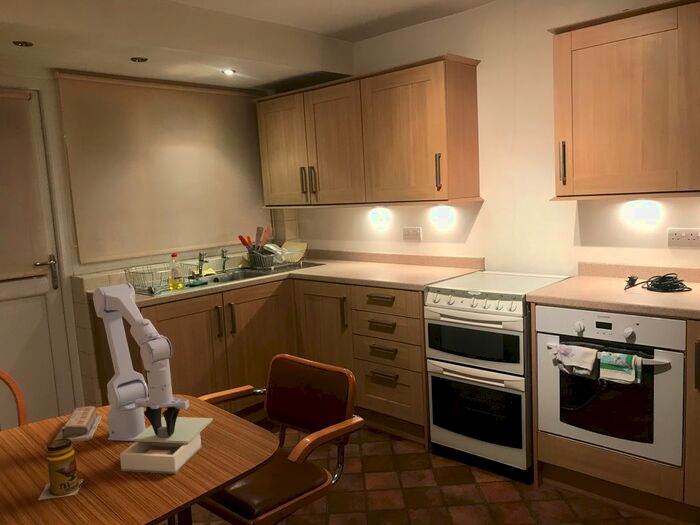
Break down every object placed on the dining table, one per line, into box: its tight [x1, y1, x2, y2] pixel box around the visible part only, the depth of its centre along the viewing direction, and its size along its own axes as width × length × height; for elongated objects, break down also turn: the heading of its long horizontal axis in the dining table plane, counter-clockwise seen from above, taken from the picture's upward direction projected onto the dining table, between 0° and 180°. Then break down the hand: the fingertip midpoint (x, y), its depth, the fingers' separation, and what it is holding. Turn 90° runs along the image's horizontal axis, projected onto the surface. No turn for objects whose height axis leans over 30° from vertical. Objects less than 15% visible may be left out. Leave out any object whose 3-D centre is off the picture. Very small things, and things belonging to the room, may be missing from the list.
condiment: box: [37, 438, 84, 501], centre depth 137 cm, size 7×8×12 cm
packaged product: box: [54, 405, 104, 443], centre depth 173 cm, size 18×5×10 cm
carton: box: [119, 432, 202, 475], centre depth 151 cm, size 15×14×4 cm
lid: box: [133, 415, 214, 443], centre depth 157 cm, size 16×15×3 cm
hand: (164, 433), depth 152 cm, fingers closed on lid, 3 cm apart
